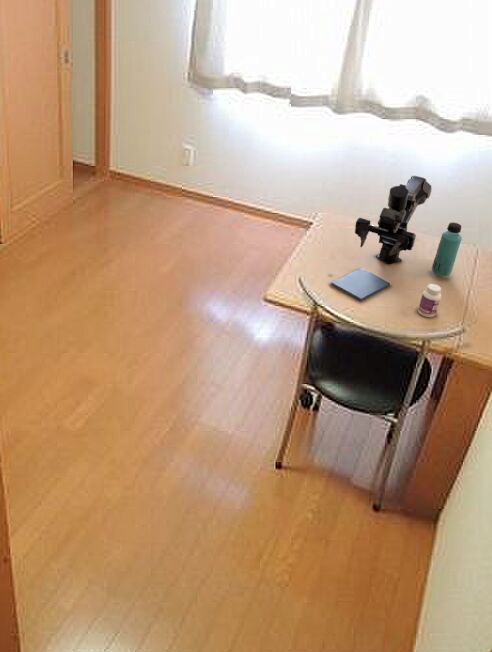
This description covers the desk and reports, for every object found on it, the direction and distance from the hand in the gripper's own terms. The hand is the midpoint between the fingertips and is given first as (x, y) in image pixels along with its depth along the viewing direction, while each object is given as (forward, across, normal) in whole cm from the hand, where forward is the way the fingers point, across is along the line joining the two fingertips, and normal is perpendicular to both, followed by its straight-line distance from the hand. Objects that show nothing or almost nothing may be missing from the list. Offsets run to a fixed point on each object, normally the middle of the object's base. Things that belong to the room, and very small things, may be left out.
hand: (375, 250), depth 208 cm
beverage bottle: (-18, +18, +23) cm, 34 cm away
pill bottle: (+6, +20, +14) cm, 25 cm away
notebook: (+3, -2, +15) cm, 15 cm away
